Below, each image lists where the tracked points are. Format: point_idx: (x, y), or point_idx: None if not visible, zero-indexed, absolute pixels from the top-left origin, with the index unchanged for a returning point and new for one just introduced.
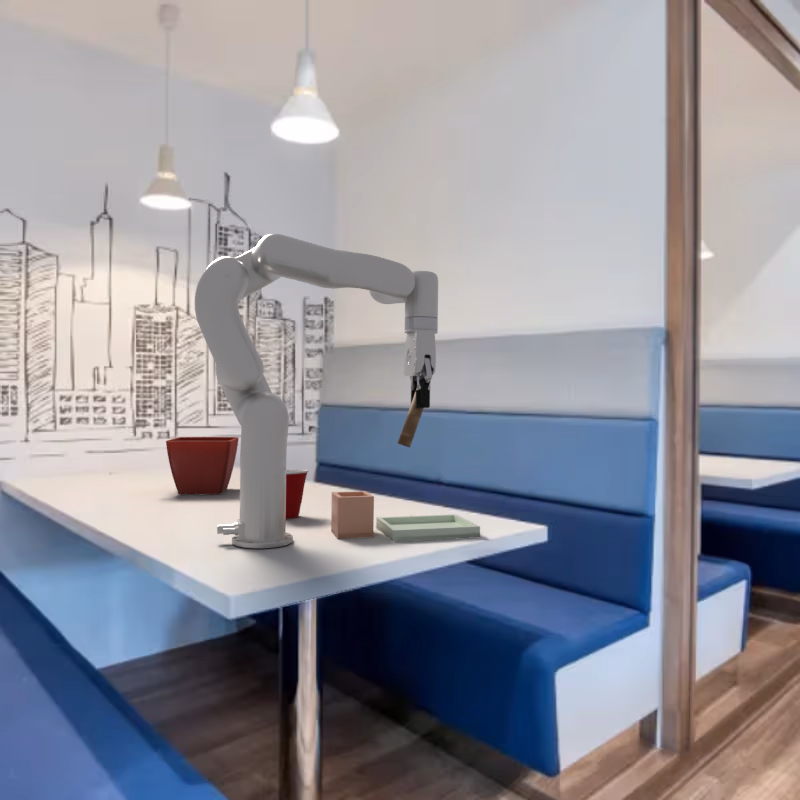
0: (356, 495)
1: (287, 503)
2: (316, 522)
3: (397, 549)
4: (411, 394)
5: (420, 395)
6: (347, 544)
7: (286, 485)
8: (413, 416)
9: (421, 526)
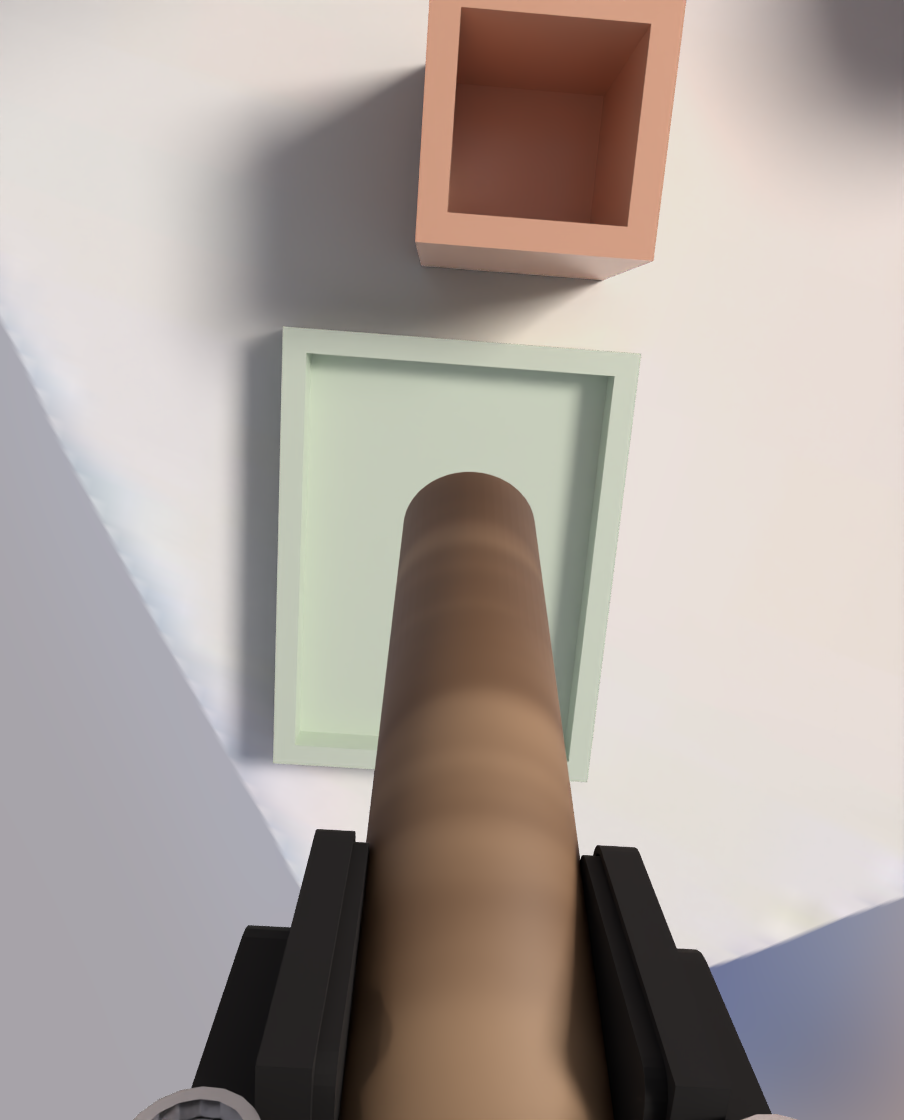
0: (627, 185)
1: None
2: (894, 55)
3: (145, 297)
4: (654, 999)
5: (223, 1026)
6: (300, 80)
7: None
8: (385, 728)
9: None
